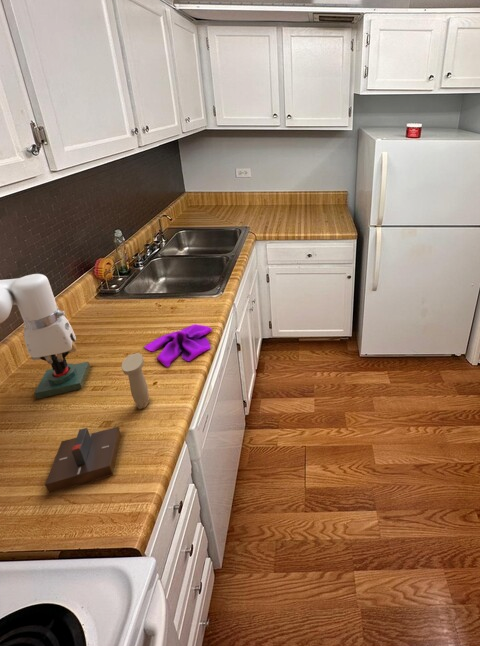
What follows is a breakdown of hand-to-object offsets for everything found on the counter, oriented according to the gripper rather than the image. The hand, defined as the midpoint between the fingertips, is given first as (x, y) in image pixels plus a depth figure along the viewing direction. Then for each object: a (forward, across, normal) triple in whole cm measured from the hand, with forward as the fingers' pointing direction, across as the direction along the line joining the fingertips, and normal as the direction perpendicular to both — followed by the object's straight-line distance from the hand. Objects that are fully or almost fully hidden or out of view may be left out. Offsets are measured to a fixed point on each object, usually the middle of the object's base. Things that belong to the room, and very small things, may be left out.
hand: (61, 370), depth 97 cm
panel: (+4, -13, +29) cm, 32 cm away
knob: (+1, -13, +29) cm, 32 cm away
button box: (+4, 0, 0) cm, 5 cm away
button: (+2, 0, 0) cm, 2 cm away
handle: (+5, -23, +16) cm, 28 cm away
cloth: (+5, -32, -6) cm, 32 cm away
